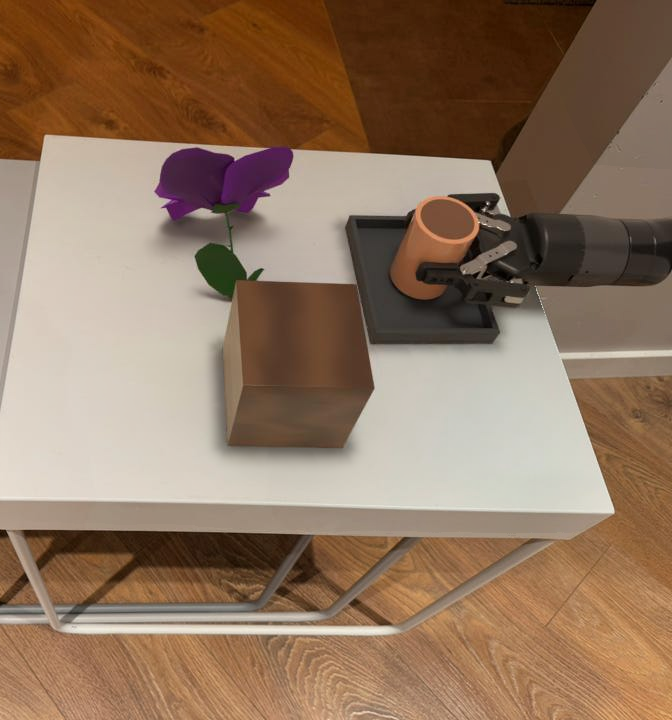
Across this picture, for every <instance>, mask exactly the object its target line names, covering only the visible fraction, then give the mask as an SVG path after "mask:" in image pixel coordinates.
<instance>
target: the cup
mask: <svg viewBox="0 0 672 720" xmlns="http://www.w3.org/2000/svg"><path fill="white" fill-rule="evenodd" d="M415 209H416V210H415V213H414V215H413V217H412V219H411V222H410V224H409V226H408V228H407V231H406V233H405V235H404V237H403V240H402V242H401V244H400V246H399V249H398V251H397V253H396V255H395V258H394V260H393V262H392V264H391V267H390V276H391V279H392V281H393V283H394V285H395V286H396V287H397V288H398V289H399V290H400V291H401V292H403V293H404V294H406V295H408V296H410V297H413V298H416V299H423V300H428V299H433V298H436V297H438V296H440V295H442V294H443V293H444V292H445V290H446V289H447V287H448V285H438V284H437V285H434V284H433V285H431V284H425V283H423V281H417V280H416V275H415V273H416V271H417V269H418V267H419V265H420V264H421V263H423V262H437V263H457V266H458V267H459V265H460V264H461V262H462V260H463V258H464V257H465V255H466V253H467V251H468V249H469V248H470V246H471V244H472V242H473V240H474V239H475V237H476V235H477V233H478V231H479V221H478V218H477V216H476V214H475V213H474V211H473V210H472V209H471V208H470V207H468V206H467V205H466V204H464V203H463V202H461V201H459V200H456V199H454V198H450V197H447V196H445V195H436V196H430V197H427V198H425V199H423V200H422V201H420V202H419V204H418V205H417V206H416V208H415Z"/></svg>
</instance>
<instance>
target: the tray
mask: <svg viewBox="0 0 672 720" xmlns="http://www.w3.org/2000/svg"><path fill="white" fill-rule="evenodd" d="M406 216H407V215H367V214H366V215H365V214H364V215H357V214H349V215H348V219H347V221H346V224H345V226H344V227H345V232H346V237H347V242H348V246H349V250H350V251H349V252H350V255H351V260H352V264H353V270H354V273H355V279H356V282H357V283H356V284H357V289H358V294H359V298H360V303H361V307H362V310H363V315H364V316H363V317H364V320H365V324H366V329H367V334H368V339H369V343H370V345H373V344H374V345H384V344H385V345H390V344H391V345H396V344H397V345H402V344H403V345H408V344H411V345H415V344H417V345H418V344H420V345H422V344H423V345H424V344H427V345H430V344H431V345H432V344H437V345H439V344H441V345H442V344H443V345H445V344H448V345H449V344H455V345H458V344H459V345H460V344H463V345H466V344H469V345H471V344H477V345H479V344H480V345H481V344H482V345H483V344H487V345H488V344H490V345H491V344H493V343H495V341H496V339H497V338H498V337H499V335H500V333H501V331H500V328H499V325H498V322H497V319H496V316H495V313H494V310H493V307H492V306H491V305H482V304H472V303H466V302H464V301H463V300H462V299H461V295H462V293H461V292H460V290H459V289H457V288H454V287H453V286H452V285H448V287H447V289H446V290H445V292H444V293H443V294H442V295H440V296H438V297H436V298H433V299H428V300H423V299H416V298H413V297H410V296H408V295H406V294H404V293H403V292H401V291H400V290H399V289H398V288H397V287H396V286H395V285H394V283H393V281H392V279H391V276H390V267H391V264H392V262H393V260H394V258H395V255H396V253H397V251H398V249H399V246H400V244H401V242H402V240H403V237H404V235H405V233H406V231H407V229H405V225H404V220H405V218H406ZM470 261H472V253H471V251H470V249H468V251H467V253H466V255H465V257H464V258H463V260H462V262H461V264H460V265H459V267H460V266H461V265H463V264H465V263H468V262H470ZM478 292H479V291H478ZM483 293H485V292H483Z"/></svg>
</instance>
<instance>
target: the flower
mask: <svg viewBox="0 0 672 720" xmlns="http://www.w3.org/2000/svg"><path fill="white" fill-rule="evenodd" d="M293 161H294V151H293V150H292V148H291V147H287V146H285V145H284V146H283V145H282V146H272V147H270V148H265V149H262V150H259V151H256V152H251V153H249V154H246V155H244V156H242V157H240V158H238V159H236V160H235V157H234V156H232V155H231V154H228V153H222V152H215V151H211V150H207V149H204V148H200V147H198V146H197V147H188V148H181V149H179V150H177V151H174V152H172V153H171V154H170V155H169V156H168V157H166V158H165V160H164V162H163V163H162V165H161V169H160V173H159V179H158V180H159V182H158V183H157V185H156V187H155V189H154V191H153V193H154V194H156V196H157V197H158V198H159V199H164V200H169V201H168V202H166V203H165V204H164V205H163V206H161V207H160V209H166V211H167V213H168V216H169V217H170V219H171V220H172V222H173V223H175V222H176V221H178V220H181V219H182V218H183V217H185V216H186V215H188V214H190V213H193V212H195V211H197V210H199V209H205V210H209V211H210V213H212V214H216V215H221V214H224V216H225V219H226V226H227V229H228V236H229V237H228V238H229V244H228V245H227V244H226V245H225V244H221V243H214V242H208V243H207V244H206V245H204V246H203V247H201V248H199V249H198V250H197V252H196V253H195V254H194V259H195V264H196V268H197V269H198V271H199V273H200V274H201V276H202V277H203V279H204V280H205V282H206V283H207V285H208V286H209V287H211V288H212V289H213V290H215V291H216V292H217V293H219V294H220V295H221V296H226V297H233V294H234V289H235V284H236V280H247V281H258V279H259V277H260V276H261V274H262V273H263V272H264V271H265V268H263V267H260V268H258V269H256V270H254V271H253V272H252V273H251V274H250V275H249V276H248V274H247V273H248V272H247V271H246V269H245V268H244V266H243V264H242V262H241V261H240V260H239V257H238V256H237V255H236V254H235V252H234V247H233V246H234V245H233V236H232V229H233V228H235V225H231V224H230V219H229V215H228V213H232V212H233V211H235V212H237V213H242V214H249V213H250V212H251V211H253V209H254V208H255V206H256V204H257V202H258V200H259V199H260V198H267V197H271V193H269V192H266V191H269V190H271V189H274V188H276V187H278V186H282V185H283V184H285V182H286V181H287V180H289V179H290V169H291V166H292V164H293Z"/></svg>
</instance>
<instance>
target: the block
mask: <svg viewBox="0 0 672 720" xmlns="http://www.w3.org/2000/svg"><path fill="white" fill-rule="evenodd" d="M222 344H223V345H222V362H223V363H222V364H223V382H224V384H223V385H224V401H225V402H224V403H225V423H226V424H225V425H226V426H225V427H226V445H227V447H229V446H230V447H273V448H274V447H278V448H279V447H281V448H285V447H286V448H333V449H334V448H341V449H343V448H344V446H345V444H346V442H347V440H348V439H349V437H350V436H351V433H352V431H353V430H354V428H355V427H356V424H357V423H358V420H359V418H360V417H361V415H362V413H363V411H364V409H365V408H366V405H367V403H368V402H369V400H370V398H371V397H372V394H373V393H374V391H375V389H376V388H375V383H374V381H375V380H374V376H373V370H372V364H371V360H370V359H371V358H370V354H369V353H370V351H369V348H368V341H367V336H366V330H365V324H364V319H363V312H362V305H361V299H360V294H359V288H358V283H335V282H334V283H332V282H303V281H302V282H301V281H277V280H276V281H275V280H274V281H273V280H256V281H247V280H236V284H235V289H234V294H233V296H232V299H231V304H230V310H229V314H228V320H227V324H226V329H225V334H224V340H223V343H222Z"/></svg>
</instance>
